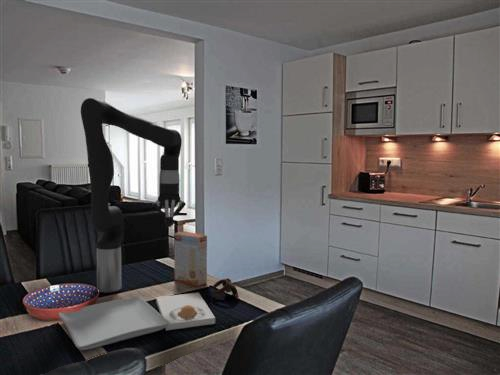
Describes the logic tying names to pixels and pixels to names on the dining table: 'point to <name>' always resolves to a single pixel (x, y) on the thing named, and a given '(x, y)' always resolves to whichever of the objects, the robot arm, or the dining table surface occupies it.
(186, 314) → the ball
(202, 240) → the cracker box
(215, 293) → the brown openwork arch
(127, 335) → the square plate
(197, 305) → the white flat slab
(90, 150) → the robot arm
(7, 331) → the dining table surface
